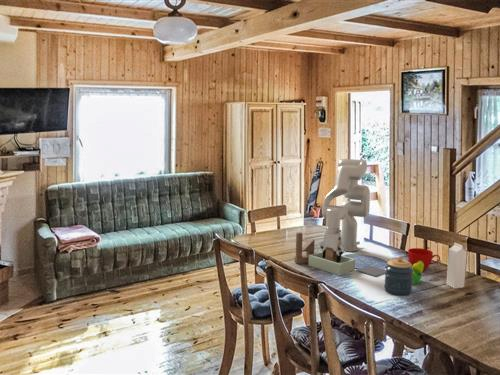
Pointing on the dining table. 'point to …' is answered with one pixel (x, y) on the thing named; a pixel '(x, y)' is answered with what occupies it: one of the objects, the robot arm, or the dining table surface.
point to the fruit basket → (417, 272)
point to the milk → (456, 266)
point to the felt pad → (371, 271)
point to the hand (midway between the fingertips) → (331, 259)
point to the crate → (332, 264)
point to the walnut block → (330, 255)
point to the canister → (398, 277)
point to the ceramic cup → (421, 256)
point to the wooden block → (303, 249)
